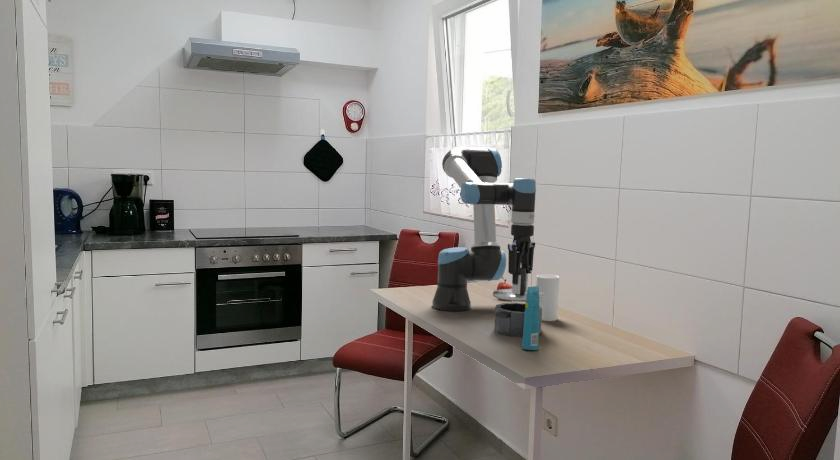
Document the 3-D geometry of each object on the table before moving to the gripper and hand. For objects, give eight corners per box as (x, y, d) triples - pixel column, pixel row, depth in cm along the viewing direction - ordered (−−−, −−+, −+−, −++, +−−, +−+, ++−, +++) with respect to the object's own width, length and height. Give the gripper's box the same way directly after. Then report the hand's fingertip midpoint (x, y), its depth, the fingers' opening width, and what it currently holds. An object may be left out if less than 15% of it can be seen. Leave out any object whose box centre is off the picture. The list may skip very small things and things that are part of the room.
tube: (526, 345, 194) (530, 284, 193) (541, 348, 191) (545, 286, 191) (517, 349, 188) (521, 286, 187) (532, 352, 185) (537, 288, 185)
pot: (519, 340, 199) (521, 316, 198) (481, 331, 209) (482, 308, 208) (553, 329, 214) (554, 307, 213) (515, 321, 224) (516, 299, 223)
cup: (544, 321, 225) (546, 278, 223) (530, 316, 232) (532, 274, 230) (561, 320, 228) (564, 277, 227) (547, 315, 236) (549, 273, 234)
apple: (510, 297, 267) (511, 274, 266) (513, 300, 260) (514, 277, 259) (493, 296, 267) (494, 274, 266) (495, 300, 260) (496, 276, 259)
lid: (482, 295, 210) (483, 266, 209) (512, 289, 223) (513, 262, 222) (527, 304, 197) (528, 273, 196) (556, 297, 210) (558, 268, 210)
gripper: (518, 226, 199) (514, 297, 201) (545, 224, 211) (542, 291, 213) (498, 224, 204) (496, 294, 206) (526, 222, 216) (523, 288, 219)
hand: (519, 292), depth 210 cm, fingers closed on lid, 4 cm apart
